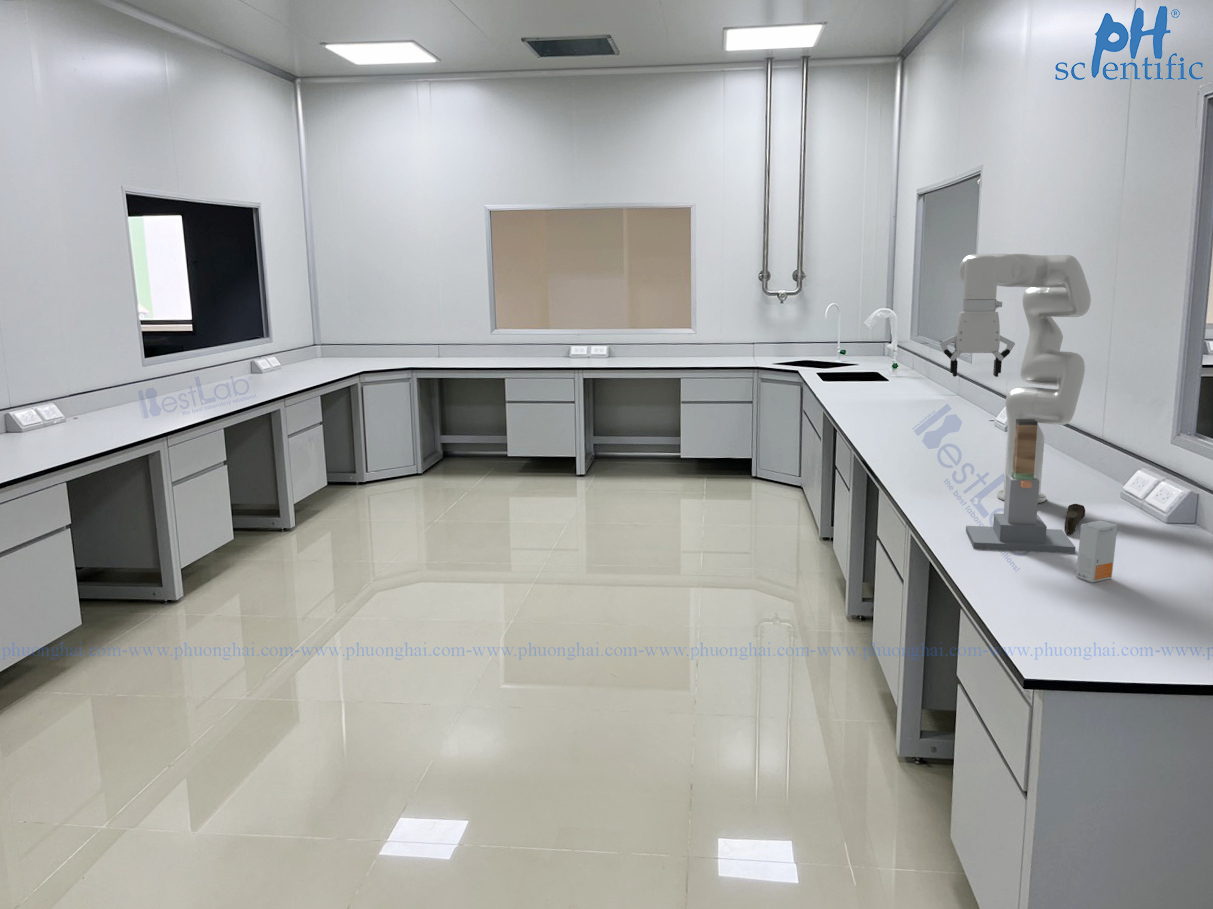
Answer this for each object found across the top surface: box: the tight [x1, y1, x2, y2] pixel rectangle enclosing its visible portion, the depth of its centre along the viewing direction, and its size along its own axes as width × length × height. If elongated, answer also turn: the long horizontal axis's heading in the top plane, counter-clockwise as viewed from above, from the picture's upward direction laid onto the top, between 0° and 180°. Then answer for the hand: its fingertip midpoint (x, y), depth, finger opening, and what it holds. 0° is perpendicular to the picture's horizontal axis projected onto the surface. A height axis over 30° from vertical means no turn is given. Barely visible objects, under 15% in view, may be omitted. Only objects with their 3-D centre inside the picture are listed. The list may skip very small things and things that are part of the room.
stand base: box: [965, 474, 1076, 554], centre depth 220 cm, size 14×22×16 cm, turn 76°
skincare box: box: [1075, 520, 1118, 583], centre depth 195 cm, size 6×4×12 cm
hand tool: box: [1063, 503, 1086, 536], centre depth 233 cm, size 19×4×5 cm, turn 146°
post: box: [1012, 419, 1039, 480], centre depth 217 cm, size 4×4×17 cm
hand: (975, 376), depth 230 cm, fingers open, 9 cm apart
